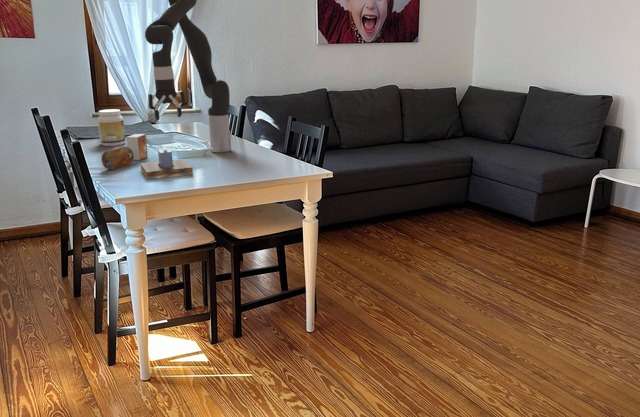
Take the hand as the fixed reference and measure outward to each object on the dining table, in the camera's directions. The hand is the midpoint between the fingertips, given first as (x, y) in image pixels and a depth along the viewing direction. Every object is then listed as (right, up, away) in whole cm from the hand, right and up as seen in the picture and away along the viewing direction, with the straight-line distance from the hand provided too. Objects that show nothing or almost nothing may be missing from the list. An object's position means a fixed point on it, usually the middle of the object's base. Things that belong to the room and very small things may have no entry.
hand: (168, 118), depth 240 cm
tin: (-24, -20, +10) cm, 33 cm away
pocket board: (-1, -22, +1) cm, 22 cm away
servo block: (-1, -21, 0) cm, 21 cm away
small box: (-20, -15, +26) cm, 36 cm away
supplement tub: (-43, -5, +57) cm, 71 cm away
